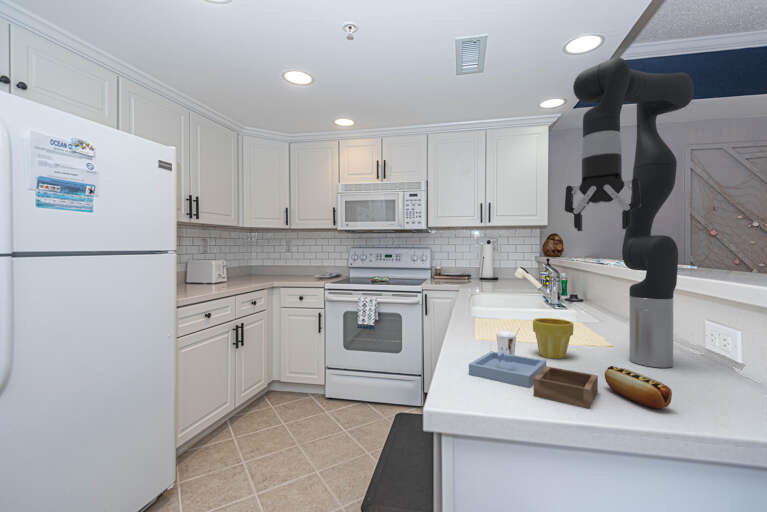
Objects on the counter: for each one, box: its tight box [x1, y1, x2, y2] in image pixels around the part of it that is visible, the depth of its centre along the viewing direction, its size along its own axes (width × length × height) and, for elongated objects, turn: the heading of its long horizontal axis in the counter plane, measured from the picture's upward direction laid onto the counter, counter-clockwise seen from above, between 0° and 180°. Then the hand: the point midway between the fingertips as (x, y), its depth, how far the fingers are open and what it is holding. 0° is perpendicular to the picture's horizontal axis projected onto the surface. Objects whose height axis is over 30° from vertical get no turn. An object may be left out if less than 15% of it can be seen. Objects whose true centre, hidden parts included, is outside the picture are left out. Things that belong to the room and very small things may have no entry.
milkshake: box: [496, 327, 520, 370], centre depth 87 cm, size 4×5×10 cm
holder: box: [533, 365, 599, 410], centre depth 74 cm, size 10×10×4 cm
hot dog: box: [604, 365, 673, 409], centre depth 71 cm, size 5×13×5 cm, turn 10°
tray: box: [468, 351, 547, 388], centre depth 88 cm, size 14×14×2 cm
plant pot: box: [532, 317, 574, 360], centre depth 102 cm, size 10×10×10 cm
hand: (601, 230), depth 79 cm, fingers open, 8 cm apart
